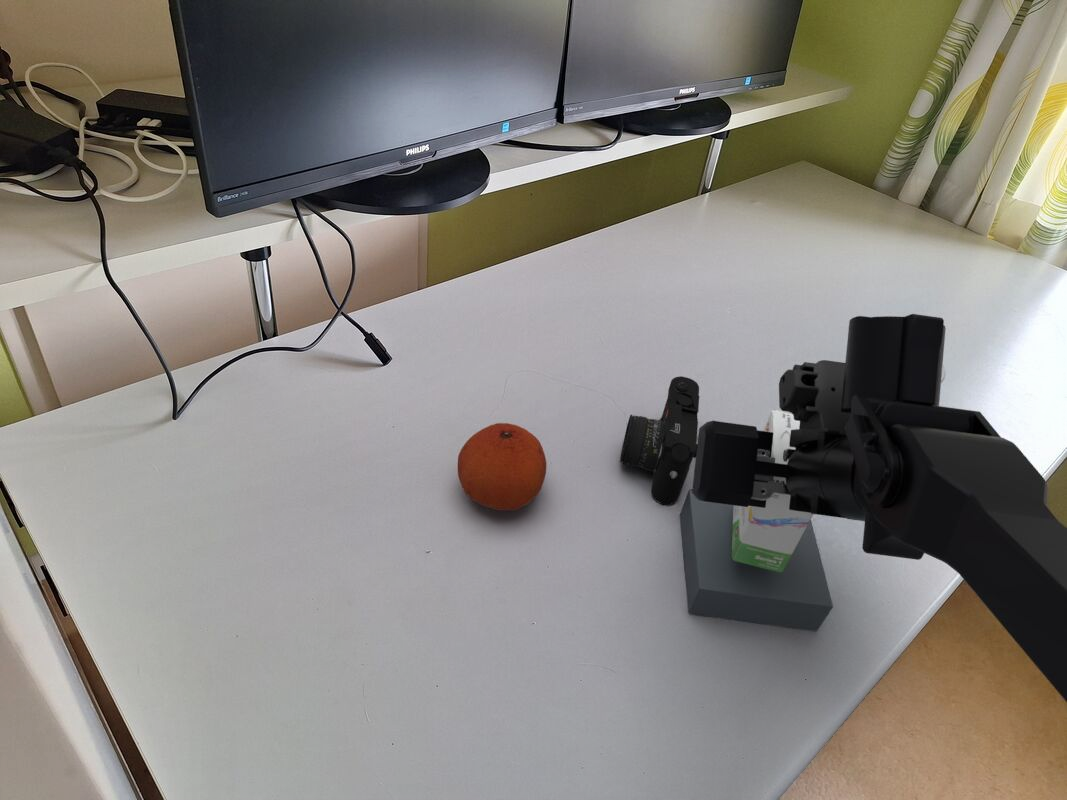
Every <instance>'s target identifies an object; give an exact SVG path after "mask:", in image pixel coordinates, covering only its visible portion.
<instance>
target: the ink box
mask: <svg viewBox="0 0 1067 800" xmlns="http://www.w3.org/2000/svg"><path fill="white" fill-rule="evenodd" d="M799 426H800V421H796V420H794V416H793V414H792V413H790V412H787V411H782V410H777V409H772V410H771V411H770V414H769V416H768V419H767V421H766V424H765V426H764V428H763V430H762V431H766V432H773V433H774V434H773V443H772V452H771V457H772V458H775V463H779V464H786V465H787V463H788V460H787V462H784V460H783V452H784V450H785V449H794V450H795V447H790V446H789V444H790V434H791V430H795V429H799ZM773 480H774V481H775V482H776V480H779V482H780V483H781V481H784V482H785V483H786V478H781V477H774V476H773ZM768 483H770V482H768ZM789 505H790V495H785V494H778V493H773V494H772V495H771V497H770V498H769V499H767V500H766V507H765V508H762V507H754V506H748V507H742V506H735V505H733V532H732V559H733V560H734V561H737V562H741V563H745V564H749V565H753V566H756V567H760V568H764V569H768V570H772V571H777V572H783V570H784V568H785V566H786V564H787V563H788V561H789V559H790V557H791V555H792V553H793V551H794V549H795V548H796V546H797V544H798V542H799V540H800V538H801V536H802V534H803V533H804V531H805V529H806V527H807V525H808V523H809V521H810V519H812V518H813V515H814V514H811V513H808V512H801V511H794V510H789Z"/></svg>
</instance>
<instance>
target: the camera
mask: <svg viewBox="0 0 1067 800" xmlns="http://www.w3.org/2000/svg"><path fill="white" fill-rule="evenodd" d="M699 405H700V386H699V384H698V382H696V381H695V380H694V379H692V378H690V377H687V376H675V377H673V378H672V379H671V380H670V384H669V387H668V390H667V398H666V401H665V404H664V407H663V411H662V415H661V417H660V419H656V418H655V419H653V418H648V417H646V416H642V415H640V416H639V415H633V414H630V415H629V418H628V421H627V424H626V427H625V428H626V429H625V432H624V436H623V437H624V438H623V441H622V446H621V452H620V457H619V463H622V464H623V465H627V466H631V467H634V468H637V467H640V468H642V469H643V470H647V471H651V472H653V474H652V482H651V488H650V494H651V496H652V498H653V499H654V500H655V501H656V502H658V503H660V504H661V505H668V506H670V505H674V504H675V503H676V502H677V501H678V500H679V498H680V495H681V493H682V490H683V487H684V484H685V482H686V479H687V476H688V474H689V471H690V468H691V464H692V462H693V459H696V453H697V444H698V431H699V429H698V428H699V418H698V413H699V407H700V406H699Z"/></svg>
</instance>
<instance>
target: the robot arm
mask: <svg viewBox="0 0 1067 800" xmlns="http://www.w3.org/2000/svg"><path fill="white" fill-rule="evenodd" d="M944 323H945V320H944V319H943V317H940V316H939V317H938V316H931V315H923V314H917V313H911V314H907V315H905V316H895V315H894V316H891V315H890V316H889V315H886V316H884V315H883V316H865V315H857V316H854V317H852V318H850V319H849V322H848V330H847V340H846V341H847V342H846V352H845V361H844V362H843V361H842V362H841V361H836V360H835V361H834V360H826V359H823V360H822V359H821V360H818V361H816V363H815V362H807V361H804V362H803V363H802V364H794V365H793V367H792V369H787V370H786V371H785V372H784V373H783V374H782V375H781V376H780V378H779V382H778V403H779V404H778V405H779V408H780V411H782V412H786V413H790V414H793V416H794V420H796V421H800V426H799V429H795V430H791V434H790V444H789V446H790V447H795V450H794V449H785V450H784V452H783V460H784V462H787V460H788V463H787V465H786V464H779V463H775V458H772V457H771V452H772V443H773V434H774V433H773V432H766V431H763V430H758V427H757V426H755V425H748V424H739V423H735V422H734V423H733V422H727V421H726V422H724V421H718V420H710V421H709V420H708V421H706V422H705V423H704V424H702V425H701V426H700V427H698V428H699V429H698V434H697V453H696V458H695V462H694V469H693V479H692V488H691V489H692V493H693V494H694V495H695V497H696V498H697V499H698V500H700V501H705V502H712V503H720V504H727V505H735V506H742V507H748V506H754V507H762V508H765V507H766V500H767V499H769V498H770V497H771V495H772V494H773V493H778V494H785V495H790V505H789V510H794V511H801V512H808V513H811V514H813V515H816V516H817V515H818V516H824V517H833V518H841V519H846V520H851V521H860V522H864V527H863V536H862V550H863V552H864V553H865V554H869V555H870V554H871V555H877V556H887V557H895V558H900V559H901V558H902V559H909V560H917V561H920V560H921V559H922V558H923V557H924V556H925V555H928V556H929V557H932V558H934V559H937V560H939V561H941V562H942V563H944V564H946V565H948V566H949V567H950V568H951V569H952V570H953V571H955V572H956V573H957V574H958V575H959V576H960V577H961V579H963V581H965V583H966V584H967V586H969V587H970V589H971V590H972V591H973V592H974V593H975V595H976V596H977V597H978V598H979V599H980V602H982V603H983V605H984V606H985V607H986V608H987V609H988V610H989V612H990V613H991V614H992V615H993V616H994V618H995V620H997V621H998V623H1000V625H1001V626H1002V628H1004V629H1005V631H1006V632H1007V633H1008V634H1009V635H1010V637H1011V638H1012V639H1013V640H1014V641H1015V643H1016V644H1017V645H1018V646H1019V647H1020V648H1021V650H1022V651H1023V652H1024V654H1025V655H1026V656H1027V657H1028V658H1029V659H1030V661H1031V662H1032V663H1033V664H1034V666H1035V667H1036V668H1037V669H1038V670H1039V672H1040V673H1041V674H1042V675H1043V676H1044V677H1045V679H1046V680H1047V681H1048V682H1049V684H1050V685H1051V686H1052V687H1053V688H1054V690H1055V691H1056V692H1057V693H1058V694H1059V695H1060V697H1061V698H1062V699H1063V700H1064V702H1066V703H1067V526H1065V525H1064V524H1063V523H1062V522H1061V521H1060V520H1058V519H1057V518H1056V516H1055V515H1054V513H1053V512H1052V511H1051V510H1050V508H1049V507H1048V489H1049V485H1048V483H1047V481H1046V479H1045V478H1044V477H1043V475H1042V474H1041V473H1040V472H1039V470H1038V469H1037V468H1036V467H1035V466H1034V465H1033V463H1031V461H1030V460H1029V459H1028V458H1027V456H1026V455H1025V454H1024V453H1023V451H1021V449H1020V448H1019V447H1018V446H1017V445H1016V444H1015V443H1014V442H1013V441H1011V440H1009V439H1006V438H1004V437H1002V436H1001V435H1000V434H999V432H997V430H996V429H995V428H994V427H993V426H992V424H991V423H990V422H989V421H988V420H987V418H986V417H985V416H984V415H983V414H982V412H981V411H978V410H971V409H963V408H955V407H948V406H941V405H940V399H941V390H942V389H941V388H942V383H941V378H942V366H944V365H943V364H944V353H945V341H946V329H947V328H946V326H945V324H944ZM773 476H774V477H781V478H786V483H785V482H784V481H781V483H780V482H779V480H776V482H775V481H774V480H773ZM768 482H770V483H768Z"/></svg>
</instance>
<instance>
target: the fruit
mask: <svg viewBox="0 0 1067 800" xmlns="http://www.w3.org/2000/svg"><path fill="white" fill-rule="evenodd" d="M546 474H547V459H546V454H545V451H544V449H543V446H542V444H541V442H540V440H539V439H538V438H537V436H535V435H534V434H533V433H531V432H530V431H529V430H528V429H526V428H524V427H522V426H520V425H517V424H513V423H509V422H498V423H497V422H496V423H494V424H490V425H488V426H486V427H483V428H482V429H480V430H479V431H476V432H475V433H474V434H473V435H472V436H470V437H469V438H468V440H466V441H465V443H464V445H463V446H462V447H461V448H460V451H459V453H458V456H457V478H458V480H459V483H460V485H461V488H462V489H463V491H464V493H465V494H466V495H467V496H468V497H469V498H470V499H472V500H473V501H474V502H475V503H478V504H479V505H481V506H483V507H486V508H488V509H492V510H497V511H517V510H519V509H522V508H524V507H525V506H527V505H528V504H530V503H531V502H532V501H533V500H534V499H535V498H536V497H537V496H538V495H539V493H540V492H541V490H542V488H543V484H544V482H545V478H546Z"/></svg>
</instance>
